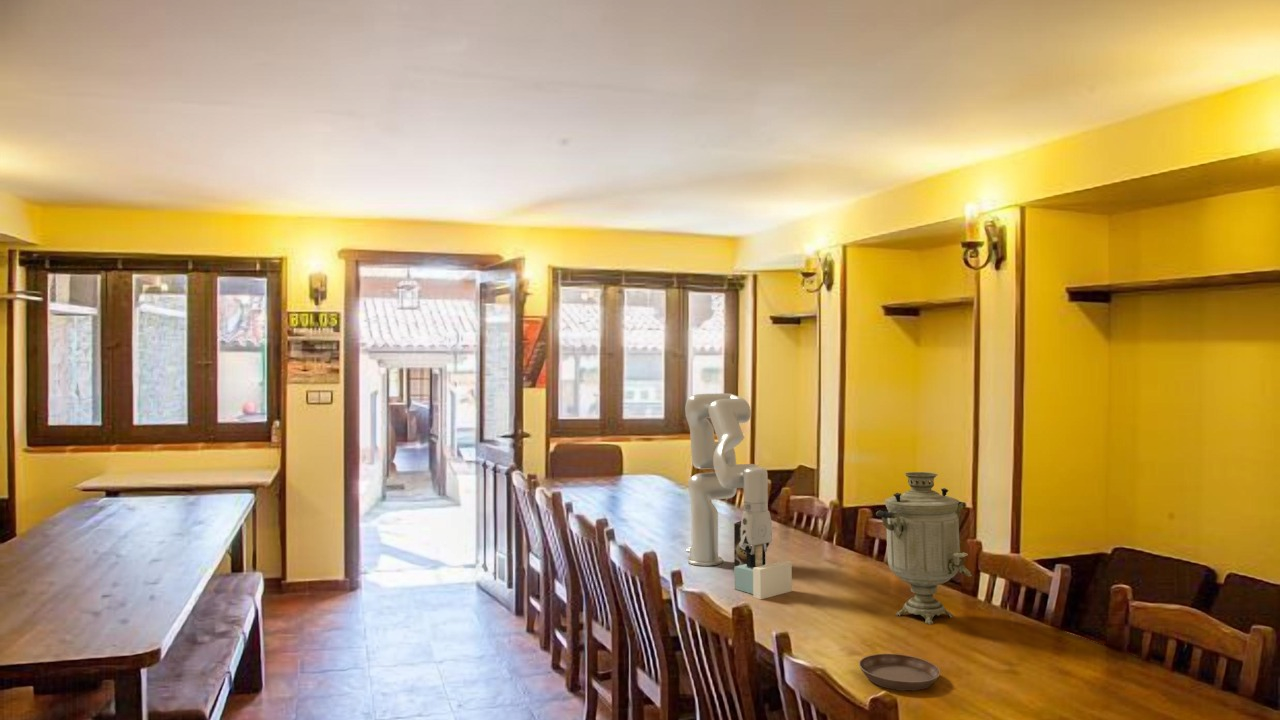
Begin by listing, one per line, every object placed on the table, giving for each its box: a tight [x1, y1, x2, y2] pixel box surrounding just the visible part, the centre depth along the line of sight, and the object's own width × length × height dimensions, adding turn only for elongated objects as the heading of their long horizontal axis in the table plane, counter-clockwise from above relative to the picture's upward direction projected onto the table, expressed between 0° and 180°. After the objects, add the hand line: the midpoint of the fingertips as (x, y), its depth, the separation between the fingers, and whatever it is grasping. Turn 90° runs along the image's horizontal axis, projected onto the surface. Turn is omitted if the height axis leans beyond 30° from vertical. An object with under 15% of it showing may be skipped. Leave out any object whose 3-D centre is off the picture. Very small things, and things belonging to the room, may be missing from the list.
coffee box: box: [733, 520, 750, 571], centre depth 297 cm, size 9×6×16 cm
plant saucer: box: [858, 653, 941, 691], centre depth 197 cm, size 18×18×3 cm
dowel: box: [750, 544, 763, 569], centre depth 272 cm, size 4×4×10 cm
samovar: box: [875, 471, 972, 625], centre depth 241 cm, size 30×26×40 cm
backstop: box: [752, 560, 793, 600], centre depth 267 cm, size 3×14×9 cm, turn 129°
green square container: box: [734, 563, 768, 595], centre depth 272 cm, size 10×10×7 cm
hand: (755, 564), depth 272 cm, fingers closed on dowel, 3 cm apart
